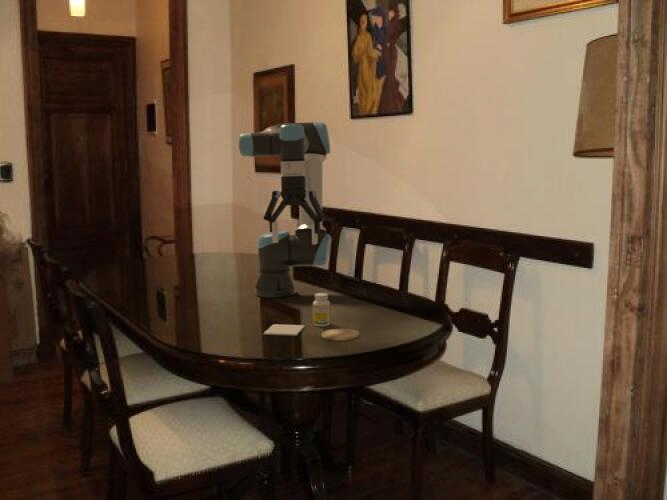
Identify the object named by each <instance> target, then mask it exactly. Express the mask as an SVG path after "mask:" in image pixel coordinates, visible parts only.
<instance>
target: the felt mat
mask: <svg viewBox="0 0 667 500" xmlns="http://www.w3.org/2000/svg"><path fill="white" fill-rule="evenodd" d="M305 327H306V326H305V325H304V324H277V323H276V324H275V323H274V324H272V325H270V326H269V328H268V329H267V330H265V331H264V332H263V336H264V335H267V336H268V335H269V336H293V337H296V336H298V335H299V334H300V333H301V331H303V329H304V328H305Z"/></svg>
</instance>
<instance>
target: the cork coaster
mask: <svg viewBox="0 0 667 500" xmlns="http://www.w3.org/2000/svg"><path fill="white" fill-rule="evenodd" d="M359 337H360V332H359V331H358V330H356V329H351V328H331V329H327V330H324V331H322V332H321V338H322V339H324V340H327V341H334V342H346V341H351V340H352V341H353V340H355V339H356V340H357V339H358V338H359Z"/></svg>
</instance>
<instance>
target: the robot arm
mask: <svg viewBox="0 0 667 500" xmlns="http://www.w3.org/2000/svg"><path fill="white" fill-rule="evenodd" d="M330 144H331V143H330V138H329V130H328V126H327V125H326V123H324V122H315V121H311V122H310V121H309V122H286V123H280V124H279V123H278V124H276V125H272V126H269V127H267V128H265V129H264V130H262V131H259V132H248V133H241V134H240V135H239V138H238V150H239V153H240V155H241V156H242V157H249V158H254V157H280V174H281V175H282V176H281V177H280V185H281V191H279V190H273V191H272V192H271V199H270V202H269V204H268V206H267V209H266V211H265V214H264V215H263V221H267V222H268V223H269V232H267V233H264V234H262V235H260V236H258V240H257V251H258V252H257V253H258V277H257V282H256V284H255V289H254V294H255V296H257V297H259V298H260V297H261V298H268V299H269V298H270V299H271V298H273V299H274V298H287V297H290V296H294V295H295V294H296V285H295V282H294V280H293V277H292V274H291V267H320V266H321V267H322V266H325V265H326V264H327V263H328V259H329V255H330V250H331V248H330V247H331V235H330V234H329V233H327V229H326V228H325V227H324V226H323V221H326V220H327V218H326V216H325V213H324V212H323V162H325V161H326V160H327V155H328V154H331V145H330ZM280 197H281V198H282V200H281V202H280V203H279V205H278V207H276V205H277V203H278V201H279V199H280ZM287 206H299V207H298V208H299V209H298V211H299V212H298V214H299V218H298V219H299V223H298V224H299V225H298V226H297V227H296V228H295V232H294V233H295V234H290V232H289V230H280V231H279V222H278V221H277V219H279V216H280V215H281V214H282V212H283V211H284V210H285V209H286V207H287ZM275 207H276V209H275ZM274 210H275V211H274Z"/></svg>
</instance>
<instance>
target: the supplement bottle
mask: <svg viewBox="0 0 667 500" xmlns="http://www.w3.org/2000/svg"><path fill="white" fill-rule="evenodd" d="M328 298H329V294H328V293H326V292H319V293H315V294H314V299H315V300H313V302H312V323H313V325H314V326H315V327H321V328H322V327H327V326H328V327H329V325H330V324H331V302H330V300H328Z"/></svg>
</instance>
